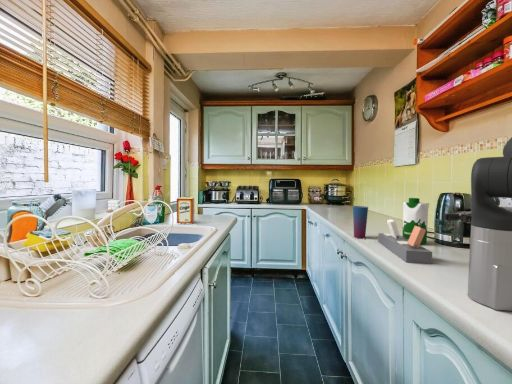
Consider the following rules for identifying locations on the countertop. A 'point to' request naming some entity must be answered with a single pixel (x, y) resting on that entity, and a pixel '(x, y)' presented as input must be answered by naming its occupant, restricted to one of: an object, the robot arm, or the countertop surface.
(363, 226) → the cup
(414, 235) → the rocker terracotta
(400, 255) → the power strip
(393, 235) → the rocker offwhite
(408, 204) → the milk carton
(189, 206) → the baking soda box
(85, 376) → the countertop surface
